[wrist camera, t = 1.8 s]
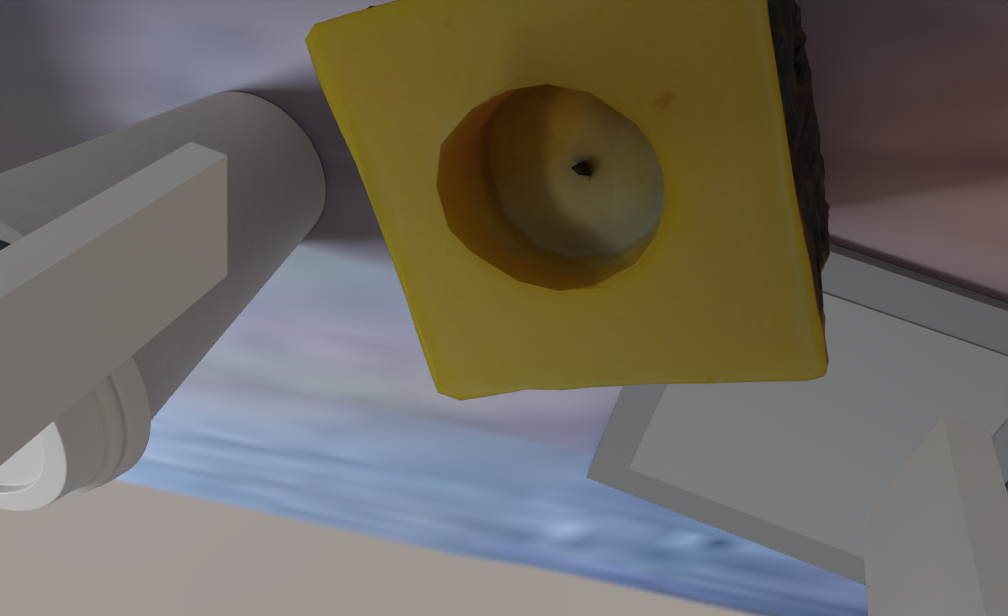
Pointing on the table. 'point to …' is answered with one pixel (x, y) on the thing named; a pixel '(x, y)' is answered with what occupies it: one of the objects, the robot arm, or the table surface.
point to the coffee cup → (185, 341)
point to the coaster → (820, 417)
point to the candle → (591, 186)
